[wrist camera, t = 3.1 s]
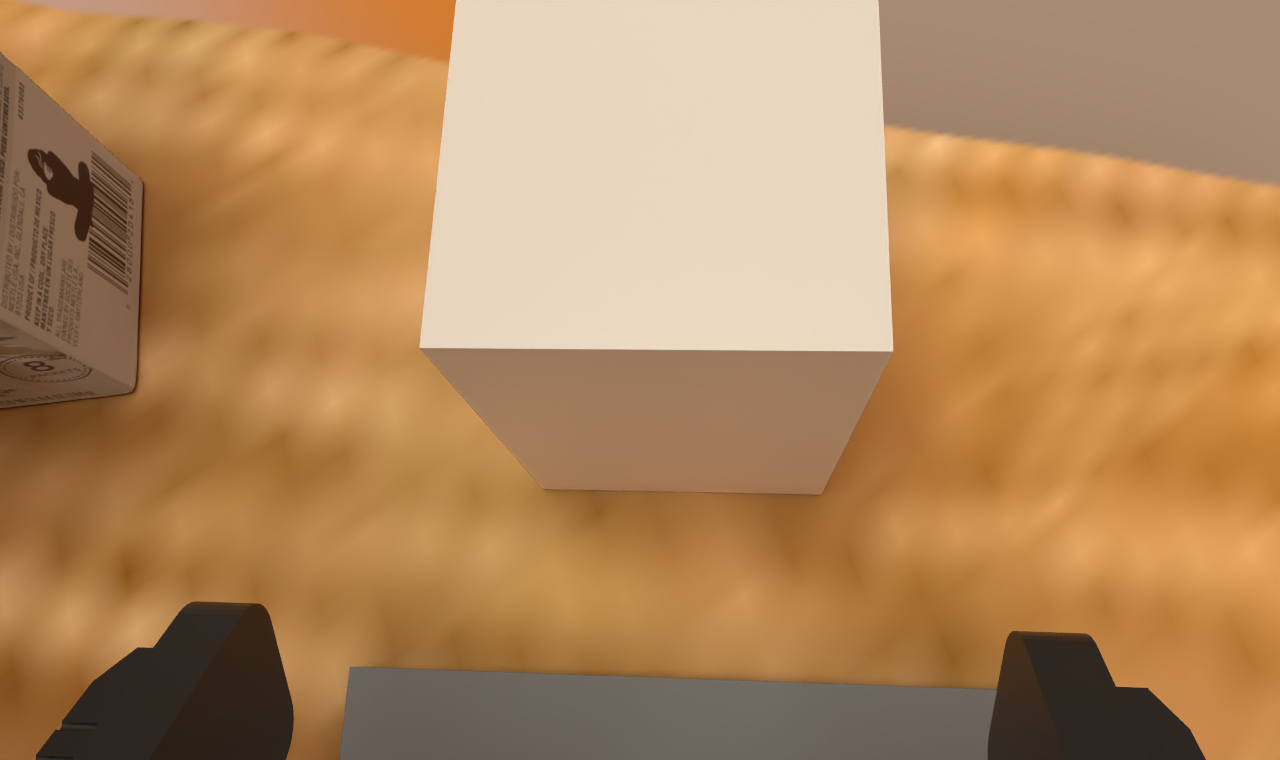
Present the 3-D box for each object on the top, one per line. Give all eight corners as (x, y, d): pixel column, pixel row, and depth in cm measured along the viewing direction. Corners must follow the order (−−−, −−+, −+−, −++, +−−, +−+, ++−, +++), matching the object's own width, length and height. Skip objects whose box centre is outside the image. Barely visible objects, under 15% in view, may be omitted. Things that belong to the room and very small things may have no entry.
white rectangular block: (821, 494, 23) (892, 351, 13) (542, 489, 23) (418, 348, 14) (816, 237, 25) (876, -50, 15) (559, 238, 25) (460, -39, 16)
